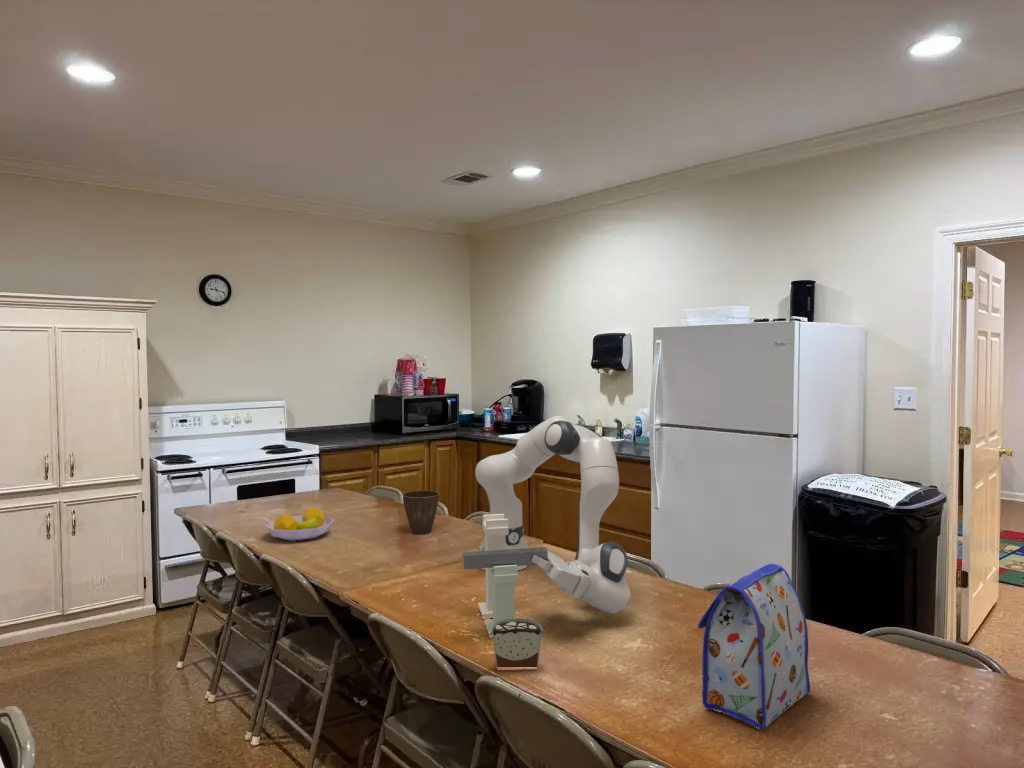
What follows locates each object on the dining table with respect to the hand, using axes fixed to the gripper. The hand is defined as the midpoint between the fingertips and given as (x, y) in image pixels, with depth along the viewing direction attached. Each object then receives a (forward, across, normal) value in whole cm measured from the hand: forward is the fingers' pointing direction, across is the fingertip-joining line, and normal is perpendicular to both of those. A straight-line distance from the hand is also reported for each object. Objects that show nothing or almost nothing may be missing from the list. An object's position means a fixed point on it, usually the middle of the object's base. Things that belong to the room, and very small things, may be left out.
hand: (530, 554), depth 179 cm
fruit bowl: (+52, -111, +53) cm, 133 cm away
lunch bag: (-42, +46, -2) cm, 63 cm away
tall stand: (-4, -13, +21) cm, 25 cm away
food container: (-3, +20, +21) cm, 29 cm away
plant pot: (+10, -108, +29) cm, 112 cm away
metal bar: (+5, 0, +5) cm, 7 cm away
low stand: (-4, 0, +21) cm, 21 cm away
